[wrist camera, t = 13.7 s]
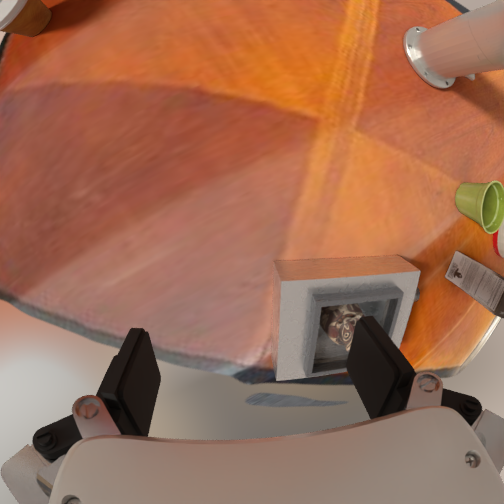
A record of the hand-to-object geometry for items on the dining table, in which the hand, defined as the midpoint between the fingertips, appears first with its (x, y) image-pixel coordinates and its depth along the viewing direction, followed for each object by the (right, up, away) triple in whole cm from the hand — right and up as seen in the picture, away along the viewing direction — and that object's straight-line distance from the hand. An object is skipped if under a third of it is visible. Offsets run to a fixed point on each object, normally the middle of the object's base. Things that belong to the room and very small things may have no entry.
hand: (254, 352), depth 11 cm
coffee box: (+44, +1, +34) cm, 55 cm away
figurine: (+14, -5, +32) cm, 35 cm away
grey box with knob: (+16, -5, +33) cm, 37 cm away
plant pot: (+41, +15, +28) cm, 52 cm away
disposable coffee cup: (-39, +47, +11) cm, 62 cm away
